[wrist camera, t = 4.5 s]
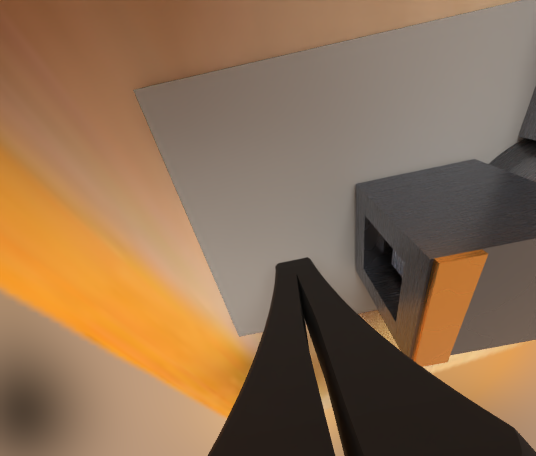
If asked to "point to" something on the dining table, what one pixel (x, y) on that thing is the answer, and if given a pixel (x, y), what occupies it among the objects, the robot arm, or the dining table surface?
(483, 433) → the robot arm
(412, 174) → the socket
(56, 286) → the dining table surface
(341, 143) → the mat
